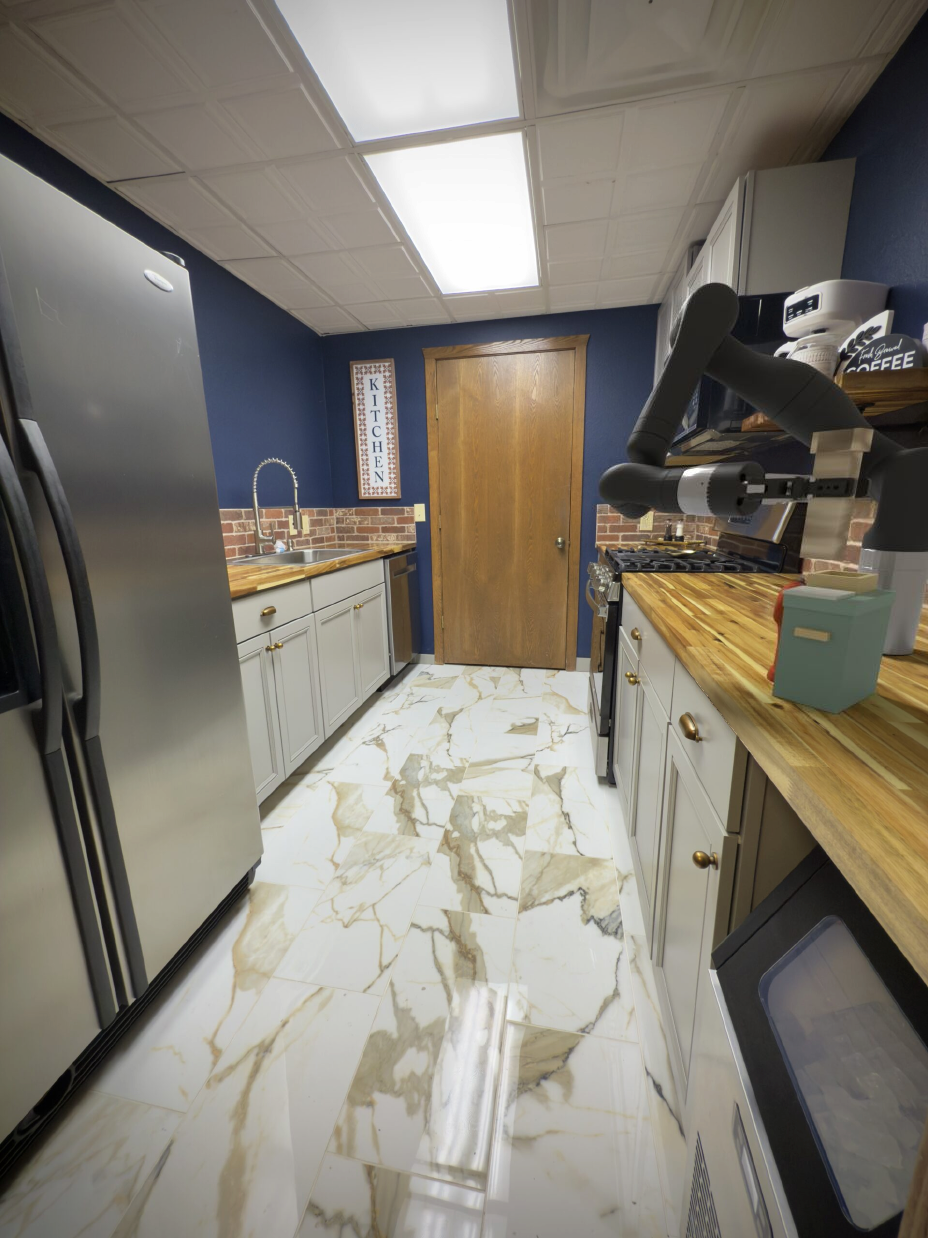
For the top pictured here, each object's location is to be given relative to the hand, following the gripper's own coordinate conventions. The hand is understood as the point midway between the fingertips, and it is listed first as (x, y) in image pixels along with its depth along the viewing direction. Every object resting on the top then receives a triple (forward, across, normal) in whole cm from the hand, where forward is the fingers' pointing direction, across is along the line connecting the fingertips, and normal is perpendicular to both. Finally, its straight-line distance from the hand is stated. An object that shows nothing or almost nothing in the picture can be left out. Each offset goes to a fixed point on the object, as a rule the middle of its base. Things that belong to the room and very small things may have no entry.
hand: (861, 487), depth 57 cm
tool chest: (-1, +4, +27) cm, 27 cm away
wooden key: (-3, 0, +8) cm, 9 cm away
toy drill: (-9, +10, +28) cm, 31 cm away
